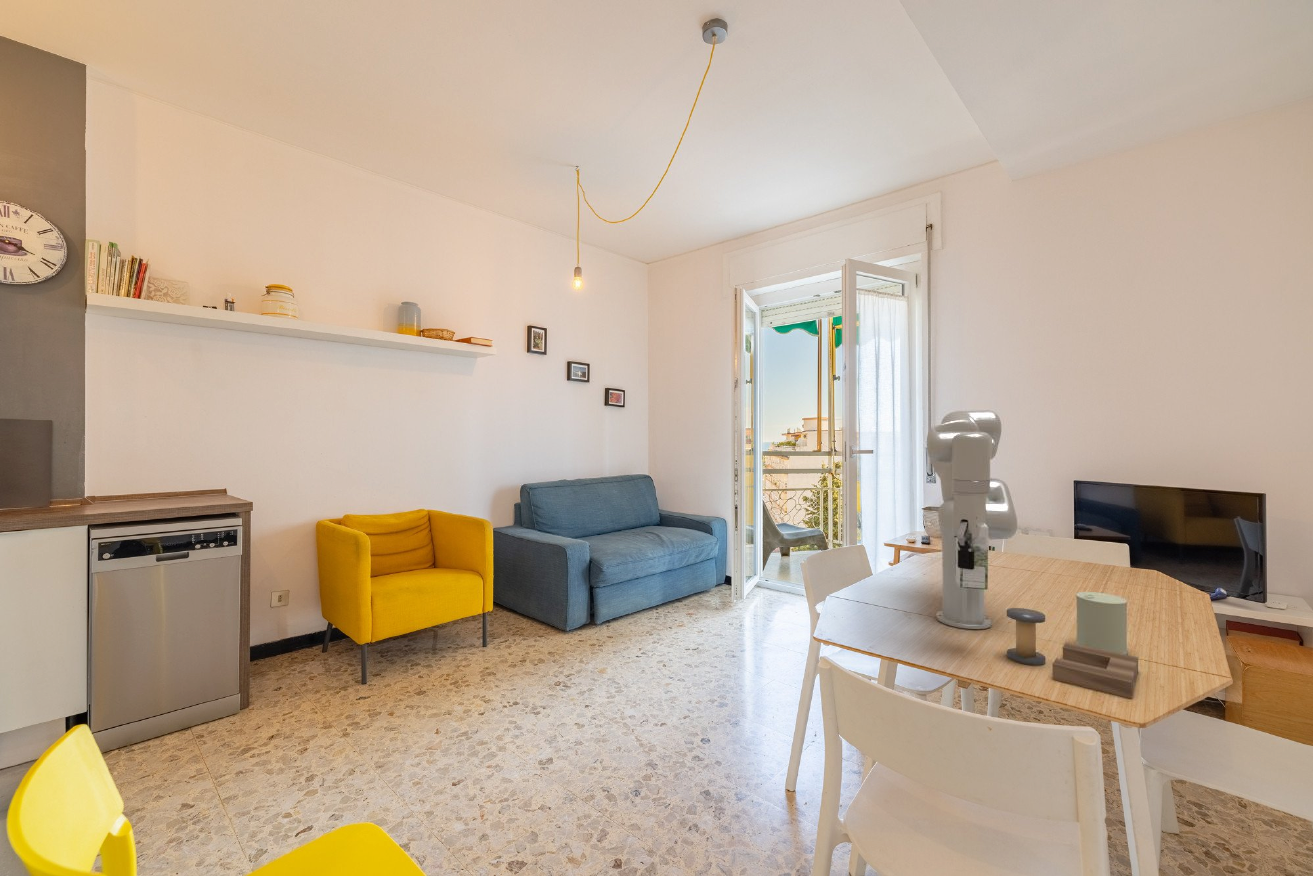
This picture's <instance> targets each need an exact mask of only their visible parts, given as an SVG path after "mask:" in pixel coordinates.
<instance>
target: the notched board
mask: <svg viewBox="0 0 1313 876" xmlns="http://www.w3.org/2000/svg"><path fill="white" fill-rule="evenodd" d="M1051 664H1052V680H1055V681H1059V682H1063V683H1068V684H1071V685H1074V686H1079V687H1083V688H1086V689H1087V688H1088V689H1091V690H1095V691H1099V692H1103V693H1107V694H1111V695H1115V696H1120V697H1124V698H1127V699H1131V700H1132V699H1133V695H1134V690H1135V686H1136V683H1137V678H1138V674H1139V656H1135V655H1129V654H1121V653H1116V652H1111V651H1107V650H1102V649H1097V648H1092V647H1087V646H1082V645H1077V644H1076V643H1072V642H1067V641H1066V642H1065V643H1064V644H1063V647H1062V658H1058V657H1056V658H1055V659H1054V661H1053V662H1052V663H1051Z"/></svg>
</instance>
